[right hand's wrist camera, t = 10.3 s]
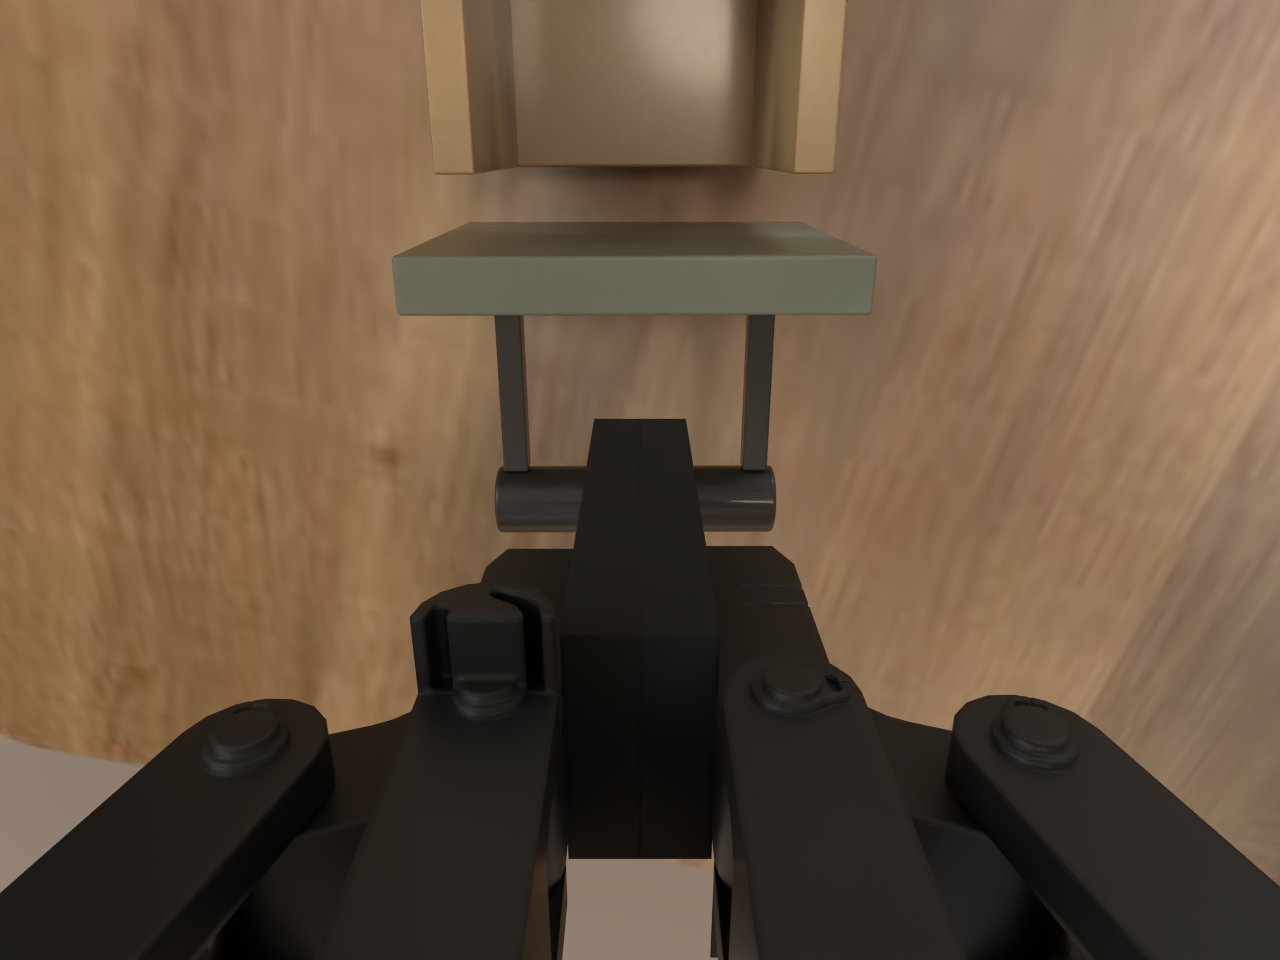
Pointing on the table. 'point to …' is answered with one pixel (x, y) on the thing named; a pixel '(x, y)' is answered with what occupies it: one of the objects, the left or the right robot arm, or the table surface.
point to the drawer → (634, 251)
